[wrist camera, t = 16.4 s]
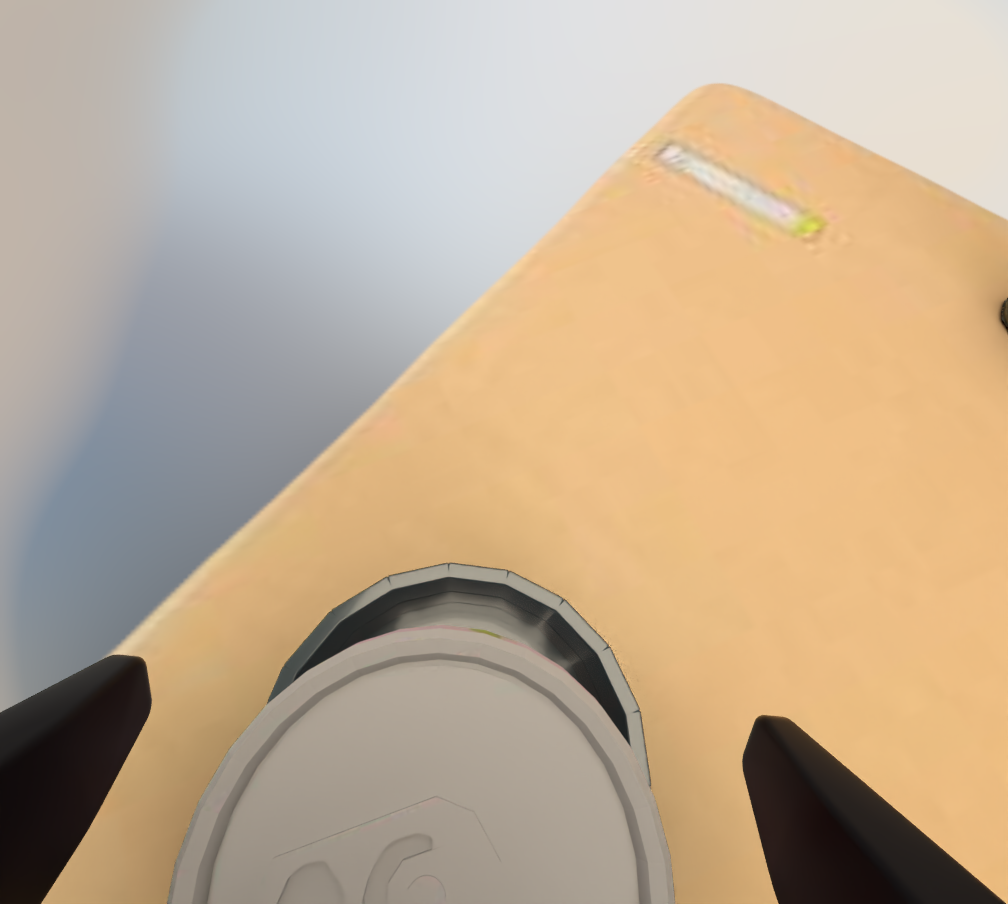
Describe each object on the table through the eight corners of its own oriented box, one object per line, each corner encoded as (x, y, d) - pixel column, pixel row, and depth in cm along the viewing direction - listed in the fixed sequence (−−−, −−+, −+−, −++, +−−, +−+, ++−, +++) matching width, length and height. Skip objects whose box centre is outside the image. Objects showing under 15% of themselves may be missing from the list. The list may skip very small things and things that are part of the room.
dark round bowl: (440, 1044, 17) (432, 1171, 12) (232, 741, 20) (162, 753, 15) (670, 755, 20) (729, 770, 16) (465, 536, 23) (466, 495, 19)
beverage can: (335, 757, 19) (16, 891, 5) (460, 639, 21) (453, 519, 7) (443, 904, 18) (376, 1589, 4) (567, 763, 20) (808, 904, 6)
